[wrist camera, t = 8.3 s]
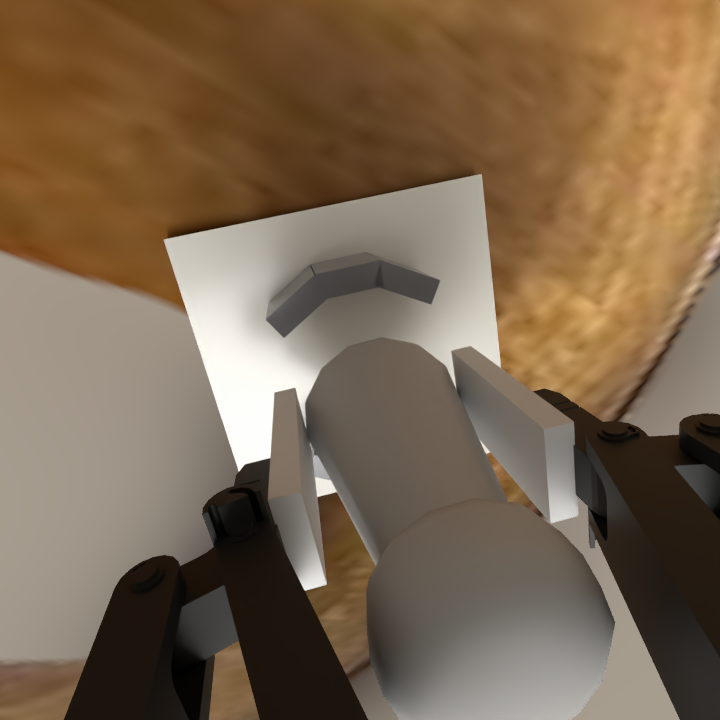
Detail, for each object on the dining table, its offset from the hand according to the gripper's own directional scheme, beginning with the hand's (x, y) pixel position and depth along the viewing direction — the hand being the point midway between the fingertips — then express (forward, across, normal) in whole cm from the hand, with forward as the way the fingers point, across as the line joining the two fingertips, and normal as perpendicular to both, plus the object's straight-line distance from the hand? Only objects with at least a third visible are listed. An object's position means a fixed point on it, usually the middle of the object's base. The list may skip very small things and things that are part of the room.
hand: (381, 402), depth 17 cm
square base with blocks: (+6, 0, 0) cm, 6 cm away
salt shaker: (+3, 0, 0) cm, 3 cm away
